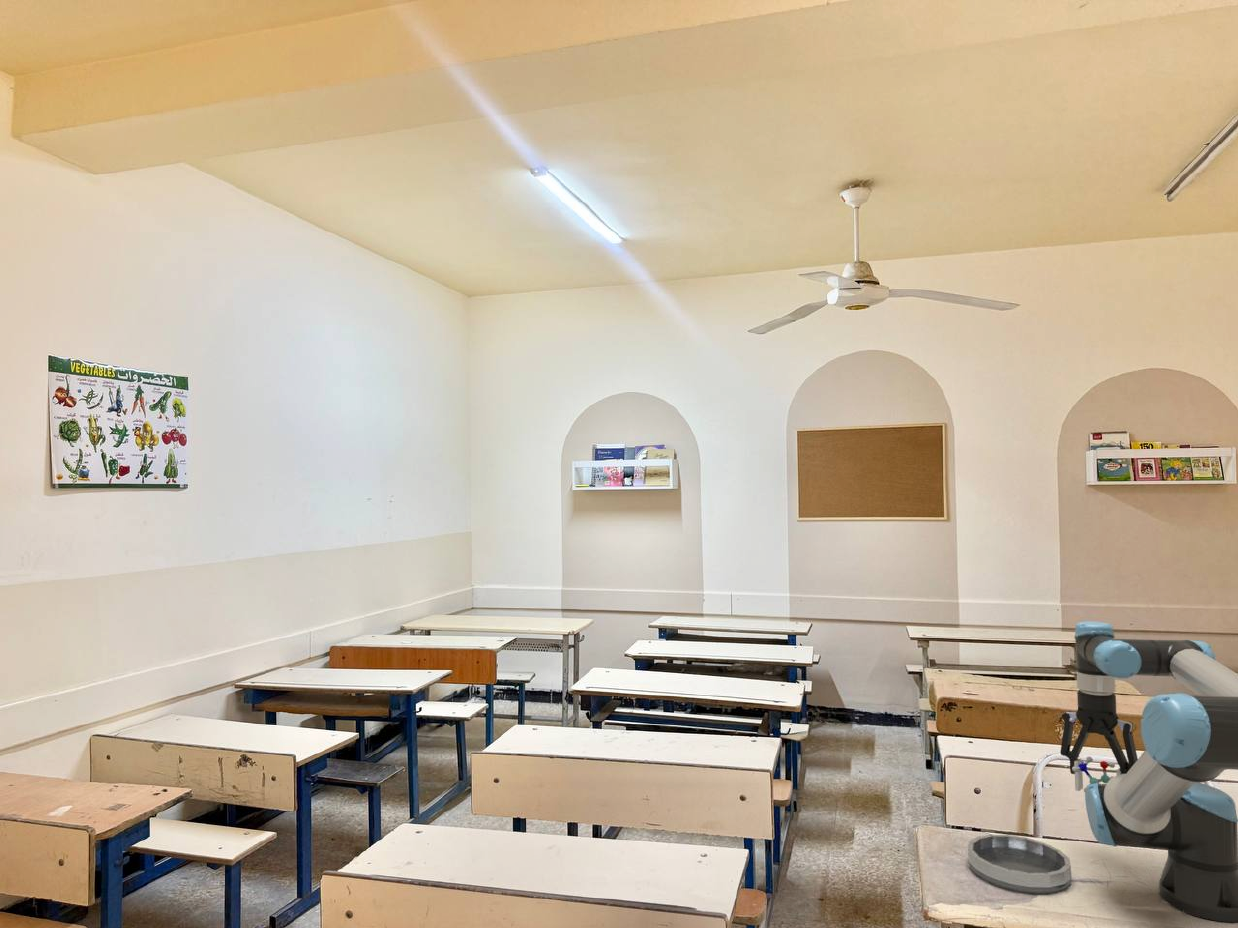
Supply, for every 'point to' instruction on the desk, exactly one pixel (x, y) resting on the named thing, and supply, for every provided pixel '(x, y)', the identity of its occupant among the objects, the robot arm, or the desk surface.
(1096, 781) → the molecular model
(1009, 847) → the shallow grey dish
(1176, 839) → the robot arm
